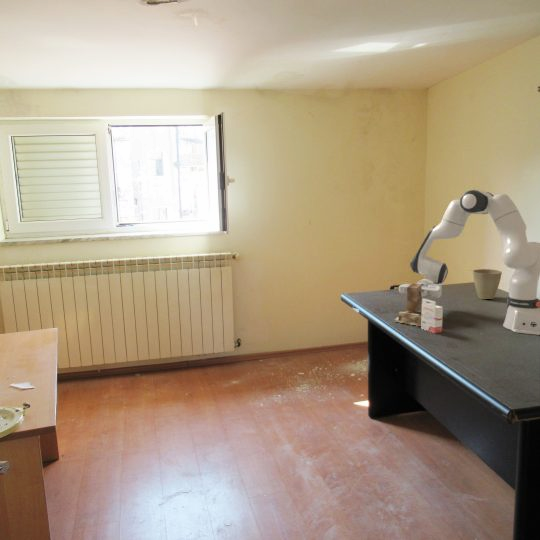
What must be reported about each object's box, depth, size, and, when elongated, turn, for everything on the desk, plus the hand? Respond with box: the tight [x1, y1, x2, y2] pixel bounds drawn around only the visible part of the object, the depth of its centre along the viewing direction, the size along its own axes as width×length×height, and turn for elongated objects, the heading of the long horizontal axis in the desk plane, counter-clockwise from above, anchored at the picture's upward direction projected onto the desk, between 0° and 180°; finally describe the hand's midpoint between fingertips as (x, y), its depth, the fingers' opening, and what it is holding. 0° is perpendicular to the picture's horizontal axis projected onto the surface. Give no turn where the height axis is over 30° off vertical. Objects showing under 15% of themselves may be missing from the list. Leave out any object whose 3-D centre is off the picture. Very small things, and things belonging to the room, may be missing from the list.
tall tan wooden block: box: [406, 283, 422, 312], centre depth 228 cm, size 5×7×12 cm, turn 143°
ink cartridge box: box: [420, 297, 444, 334], centre depth 214 cm, size 9×5×15 cm, turn 27°
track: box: [393, 310, 422, 327], centre depth 230 cm, size 14×15×6 cm
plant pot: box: [472, 268, 502, 300], centre depth 268 cm, size 15×15×16 cm
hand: (414, 293), depth 228 cm, fingers closed on tall tan wooden block, 4 cm apart
